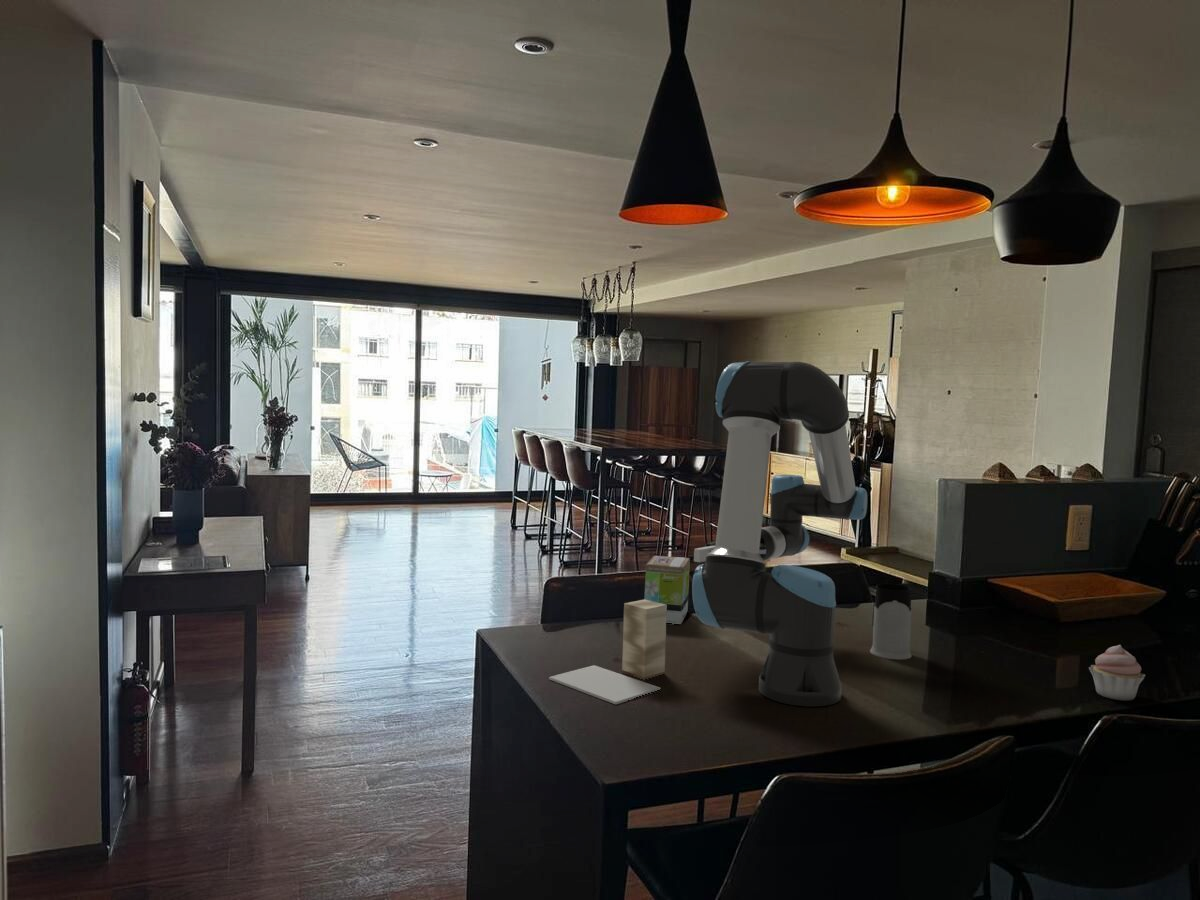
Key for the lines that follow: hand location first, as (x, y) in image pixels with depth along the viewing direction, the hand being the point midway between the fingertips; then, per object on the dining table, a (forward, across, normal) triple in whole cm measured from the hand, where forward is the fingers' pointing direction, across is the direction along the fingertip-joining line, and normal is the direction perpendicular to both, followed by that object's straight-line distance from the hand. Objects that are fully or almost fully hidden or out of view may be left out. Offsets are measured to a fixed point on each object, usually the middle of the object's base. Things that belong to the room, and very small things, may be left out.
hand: (696, 555), depth 177 cm
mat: (+27, 0, -22) cm, 35 cm away
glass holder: (-40, -24, -23) cm, 52 cm away
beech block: (+16, 0, -22) cm, 27 cm away
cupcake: (-45, -68, -23) cm, 85 cm away
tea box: (-23, +28, -23) cm, 42 cm away
